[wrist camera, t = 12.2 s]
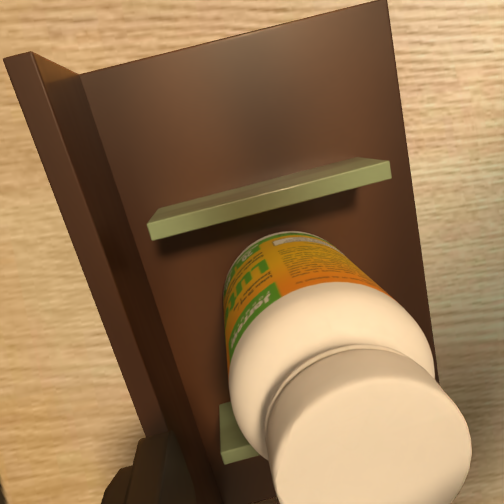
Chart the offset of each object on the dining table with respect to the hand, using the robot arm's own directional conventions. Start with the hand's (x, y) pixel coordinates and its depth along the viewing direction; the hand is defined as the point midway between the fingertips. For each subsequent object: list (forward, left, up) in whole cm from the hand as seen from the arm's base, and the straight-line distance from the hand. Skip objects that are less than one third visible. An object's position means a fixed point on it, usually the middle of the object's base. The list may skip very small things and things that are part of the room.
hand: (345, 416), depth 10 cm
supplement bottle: (0, 0, -8) cm, 8 cm away
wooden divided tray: (0, 0, -13) cm, 13 cm away
